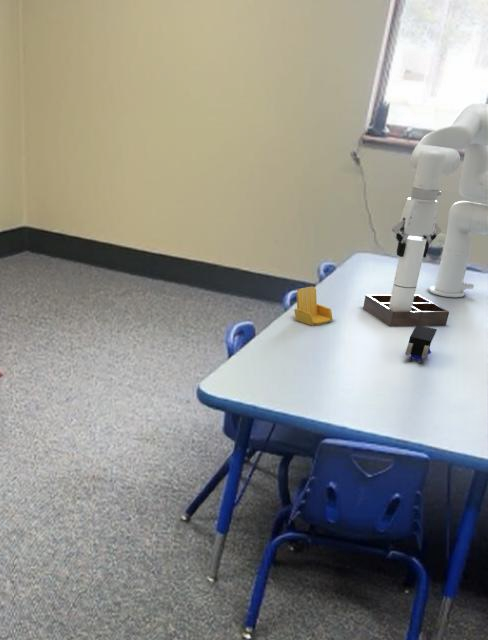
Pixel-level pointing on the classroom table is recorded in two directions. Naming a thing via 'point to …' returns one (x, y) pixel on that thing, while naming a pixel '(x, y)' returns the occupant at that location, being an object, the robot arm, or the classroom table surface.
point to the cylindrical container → (407, 274)
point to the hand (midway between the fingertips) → (411, 255)
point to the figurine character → (420, 342)
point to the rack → (406, 312)
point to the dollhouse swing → (311, 308)
